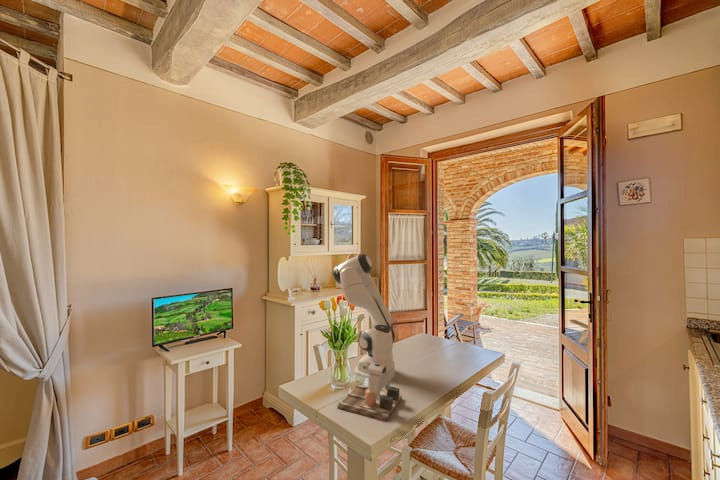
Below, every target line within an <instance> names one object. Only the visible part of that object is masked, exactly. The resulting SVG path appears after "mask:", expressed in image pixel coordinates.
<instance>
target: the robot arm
mask: <svg viewBox="0 0 720 480" xmlns="http://www.w3.org/2000/svg"><path fill="white" fill-rule="evenodd" d="M372 269H373V264H372V260H371V259H370V257H369V256H368V255H367V254H366V253H361V254H358V255H357V256H354V257H351V258H349V259H347V260H345V261H344V262H342V263H340V264H338V265H336V266H335V267H334V268H333V270H332V276H333V279H334V280H335V281H336V283H338V284H340V286H341V289H342V292H343V296H344V299H345V300H346V302H347V303H348V304H350V305H351V306H353V307H356V308H362V309H364V310H366V311H367V314H368V315H369V318H370V320H371V328H367V329H363V330H362V331H360V332H359V334H358V338H357V341H358V346H359V347H360V349H362V350H363V351H365V352H366V354H365V355H364V356H363V357H361V358H360V359H358V360H359V361H358V364H357V366H355V368H354V369H353V374H355V373H357V374H356V375H358V374H359V375H358V376H361V375H363V376H362V377H364V376H366V377H365V378H367V379H368V387H369V390H370V392H372V393H375V394H376V399H377V400H380V399H381V394H380V390H382V389H383V388H384V391H387V390H389V389H390V386H391V382H392V379H393V378H394V377H395V374H396V368H395V362H394V355H393V347H394V342H395V339H396V334H395V331H394V329H393V328H392V320H393V318H392V317H393V316H392V314H391V311H390V310H389V309H388V307H387V306H386V304H385V301H384V299H383V297H382V295H381V293H380V291H379V289H378V286H377V284H376V282H375V281H374V279H373V276H372V275H371V274H370V272H371V271H372Z"/></svg>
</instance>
